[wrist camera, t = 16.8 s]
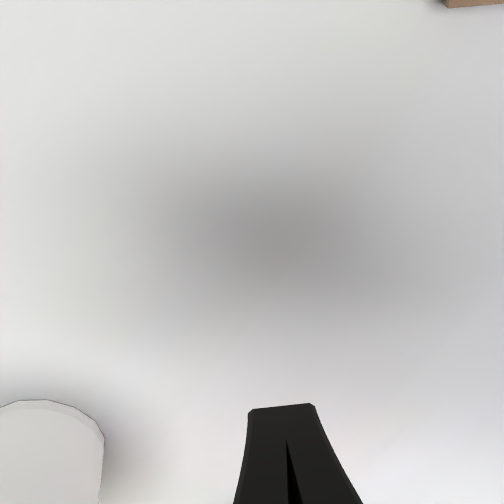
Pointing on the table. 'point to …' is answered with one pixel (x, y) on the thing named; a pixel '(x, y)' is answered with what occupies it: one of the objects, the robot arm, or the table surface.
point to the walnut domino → (469, 3)
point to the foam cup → (49, 454)
